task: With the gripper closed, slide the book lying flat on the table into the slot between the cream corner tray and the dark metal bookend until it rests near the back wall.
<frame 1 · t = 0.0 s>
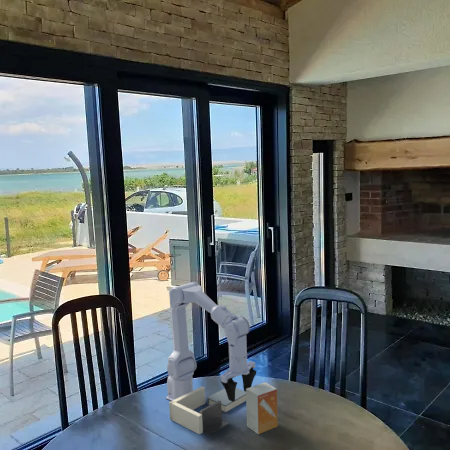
hand: (239, 396, 151), 10 cm above the table, tool pointing down, fingers open, 7 cm apart
small box: (262, 427, 151), on the table
book: (228, 402, 168), on the table
cream corner tray: (202, 416, 158), on the table
bookend: (211, 426, 152), on the table
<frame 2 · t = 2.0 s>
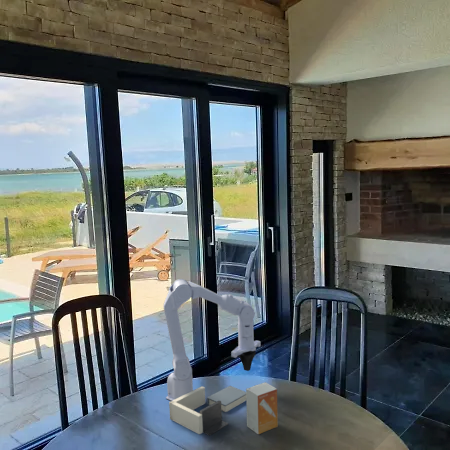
hand: (247, 369, 175), 8 cm above the table, tool pointing down, fingers closed
nothing on the table moved.
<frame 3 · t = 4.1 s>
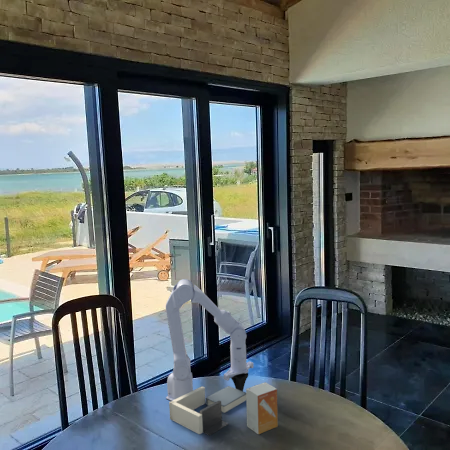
hand: (239, 392, 172), 1 cm above the table, tool pointing down, fingers closed
book: (226, 403, 167), on the table, touching gripper
everything else where it was.
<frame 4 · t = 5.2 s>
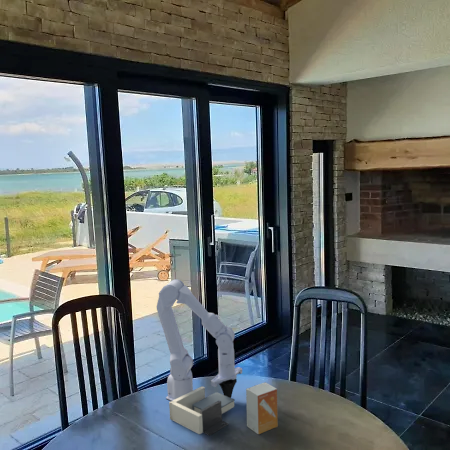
hand: (227, 398, 168), 1 cm above the table, tool pointing down, fingers closed
book: (213, 410, 163), on the table, touching gripper
everything else where it was.
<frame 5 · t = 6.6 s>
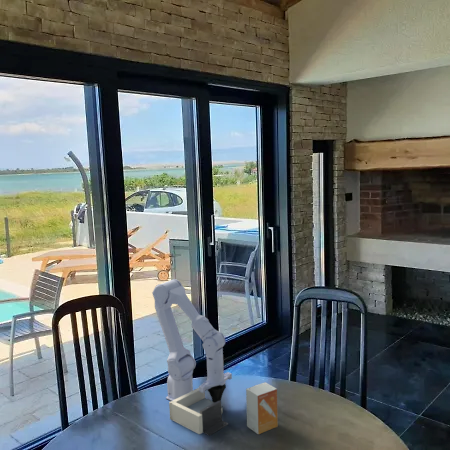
hand: (216, 404, 164), 1 cm above the table, tool pointing down, fingers closed
book: (201, 416, 159), on the table
everything else where it was.
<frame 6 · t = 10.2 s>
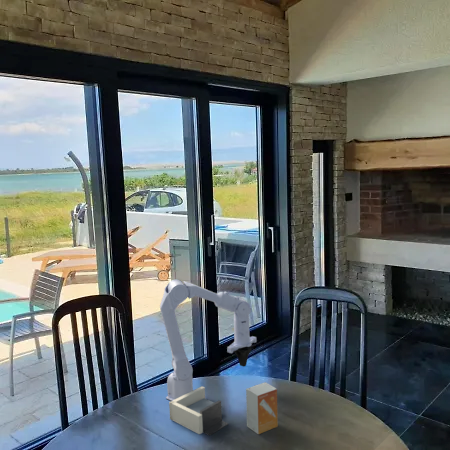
hand: (242, 365, 176), 9 cm above the table, tool pointing down, fingers closed
nothing on the table moved.
at the end: book 0.7 cm from the target spot, on the table; book tilted 0°; the gripper is holding nothing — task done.
